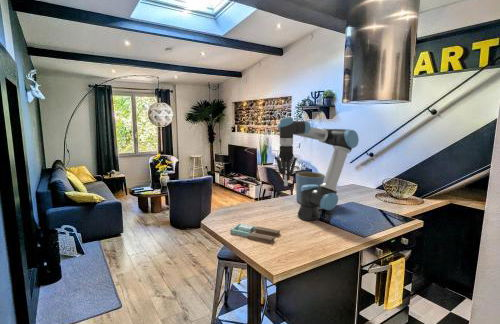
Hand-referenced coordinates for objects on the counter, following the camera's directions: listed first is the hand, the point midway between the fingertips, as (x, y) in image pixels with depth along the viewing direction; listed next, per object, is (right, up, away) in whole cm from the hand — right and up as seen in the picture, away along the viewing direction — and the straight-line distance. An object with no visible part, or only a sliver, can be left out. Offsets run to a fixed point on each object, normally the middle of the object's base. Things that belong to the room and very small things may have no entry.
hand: (286, 185), depth 157 cm
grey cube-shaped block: (-25, -28, +3) cm, 38 cm away
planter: (+28, -20, +67) cm, 75 cm away
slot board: (-13, -30, -3) cm, 33 cm away
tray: (-25, -29, +3) cm, 38 cm away
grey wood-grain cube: (-22, -28, +1) cm, 36 cm away
